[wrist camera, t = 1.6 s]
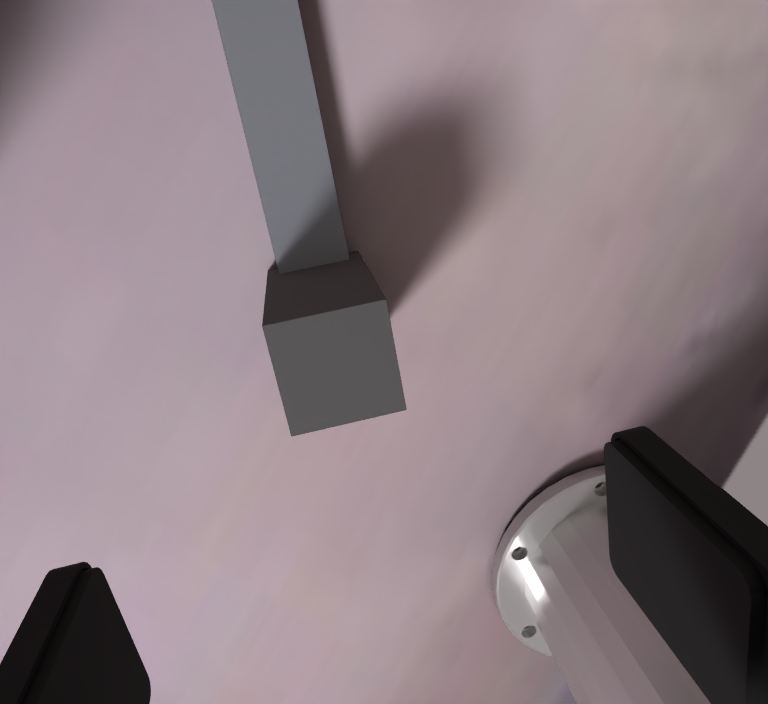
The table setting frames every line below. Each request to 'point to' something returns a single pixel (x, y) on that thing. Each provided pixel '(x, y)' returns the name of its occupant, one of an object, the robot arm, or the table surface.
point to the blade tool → (306, 232)
